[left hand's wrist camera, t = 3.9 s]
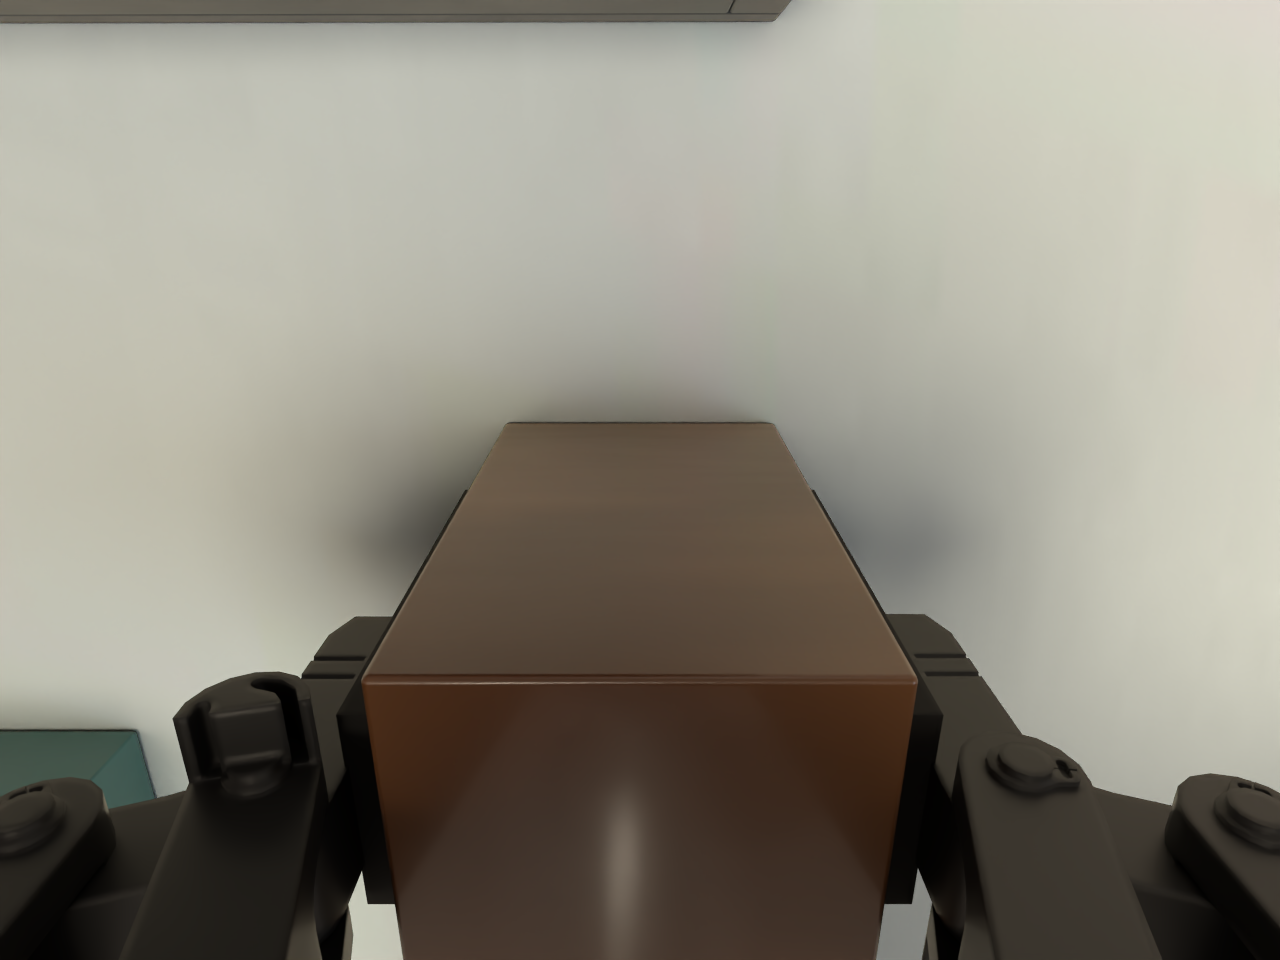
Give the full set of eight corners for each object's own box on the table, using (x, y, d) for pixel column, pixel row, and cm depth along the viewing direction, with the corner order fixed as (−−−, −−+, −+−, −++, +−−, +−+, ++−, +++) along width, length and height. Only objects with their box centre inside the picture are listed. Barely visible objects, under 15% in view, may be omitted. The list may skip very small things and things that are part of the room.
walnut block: (774, 422, 14) (922, 679, 7) (759, 653, 16) (864, 1057, 9) (505, 421, 14) (356, 679, 7) (520, 653, 16) (414, 1058, 9)
